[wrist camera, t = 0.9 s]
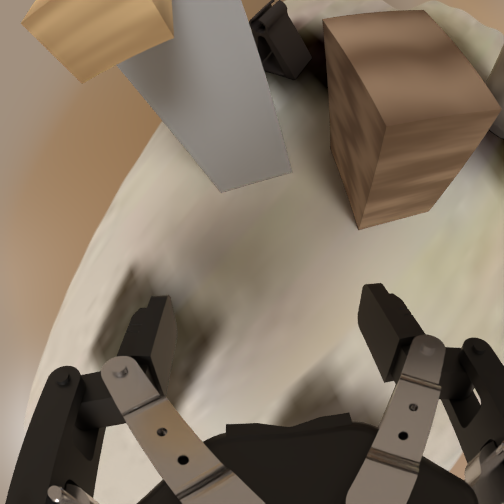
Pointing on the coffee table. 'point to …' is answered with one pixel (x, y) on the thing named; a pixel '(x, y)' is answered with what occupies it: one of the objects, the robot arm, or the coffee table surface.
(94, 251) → the coffee table surface
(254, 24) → the phone stand
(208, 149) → the grey stand
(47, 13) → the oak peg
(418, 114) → the walnut step
